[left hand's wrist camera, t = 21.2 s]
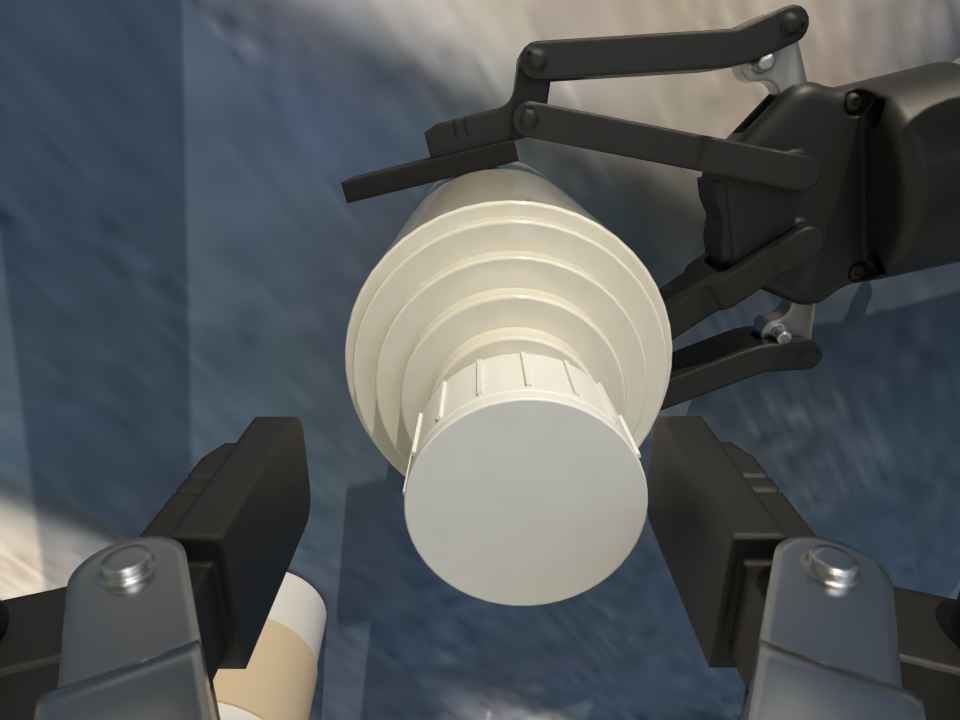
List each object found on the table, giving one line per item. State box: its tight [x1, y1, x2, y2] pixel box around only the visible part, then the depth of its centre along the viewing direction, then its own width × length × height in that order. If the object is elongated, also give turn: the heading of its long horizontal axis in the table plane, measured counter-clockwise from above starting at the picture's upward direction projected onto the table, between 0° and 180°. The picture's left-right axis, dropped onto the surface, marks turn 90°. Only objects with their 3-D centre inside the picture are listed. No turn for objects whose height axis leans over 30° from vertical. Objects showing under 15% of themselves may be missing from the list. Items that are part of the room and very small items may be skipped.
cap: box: [403, 352, 648, 606], centre depth 11 cm, size 4×4×2 cm
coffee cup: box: [213, 572, 326, 720], centre depth 33 cm, size 9×9×15 cm
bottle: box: [345, 161, 672, 477], centre depth 21 cm, size 8×8×23 cm
